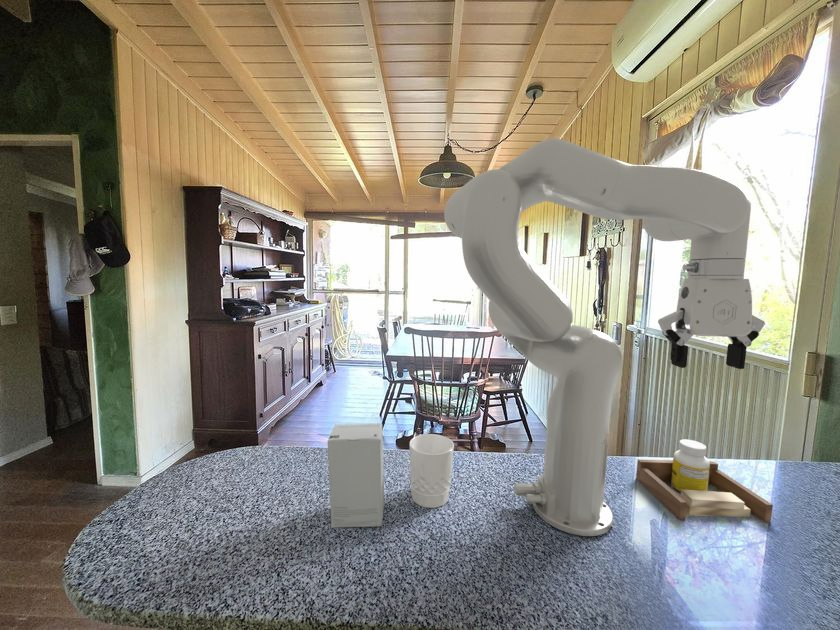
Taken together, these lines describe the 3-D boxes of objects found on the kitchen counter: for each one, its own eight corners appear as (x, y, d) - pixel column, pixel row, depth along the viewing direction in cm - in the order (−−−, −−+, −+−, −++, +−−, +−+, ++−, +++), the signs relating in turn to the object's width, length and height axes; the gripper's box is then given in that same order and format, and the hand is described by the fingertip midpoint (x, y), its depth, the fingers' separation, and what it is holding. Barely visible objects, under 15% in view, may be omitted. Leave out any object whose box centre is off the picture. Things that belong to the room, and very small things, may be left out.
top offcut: (691, 506, 60) (692, 499, 60) (680, 496, 63) (681, 489, 63) (743, 509, 60) (744, 502, 60) (730, 499, 62) (731, 492, 62)
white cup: (449, 514, 59) (451, 456, 58) (403, 506, 61) (404, 451, 60) (454, 487, 67) (456, 436, 66) (413, 481, 69) (414, 431, 68)
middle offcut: (689, 514, 60) (690, 506, 60) (677, 503, 63) (677, 496, 63) (749, 516, 60) (750, 509, 60) (734, 505, 63) (735, 498, 63)
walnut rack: (678, 522, 59) (681, 496, 58) (635, 480, 71) (637, 459, 70) (770, 524, 59) (773, 499, 58) (711, 483, 71) (714, 461, 70)
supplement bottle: (673, 482, 71) (678, 434, 70) (708, 494, 67) (714, 444, 66) (667, 493, 67) (672, 443, 66) (703, 506, 63) (709, 454, 62)
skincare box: (384, 505, 61) (385, 422, 60) (381, 529, 55) (383, 438, 54) (335, 505, 61) (335, 421, 59) (327, 529, 55) (327, 437, 53)
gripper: (678, 269, 59) (669, 371, 61) (788, 270, 58) (776, 373, 60) (651, 270, 66) (644, 360, 68) (748, 271, 65) (739, 362, 67)
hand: (706, 366), depth 64 cm, fingers open, 9 cm apart
